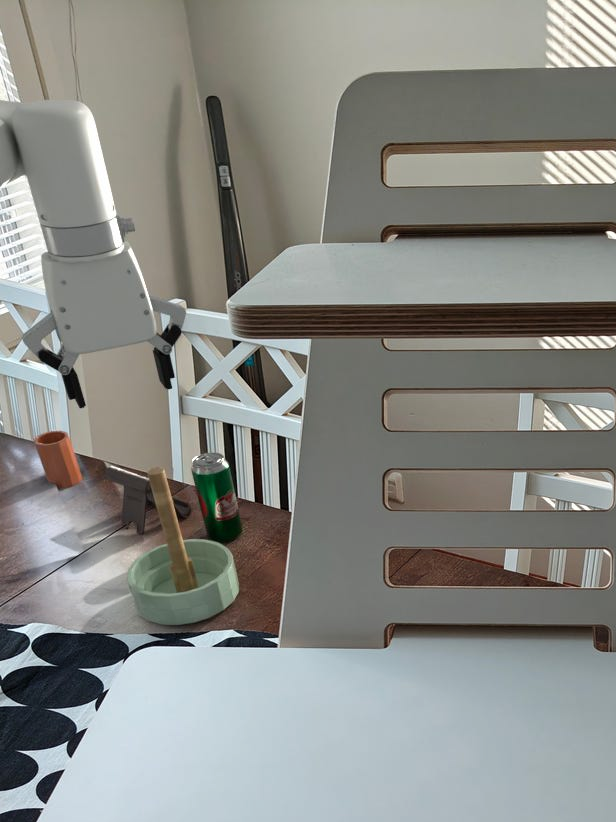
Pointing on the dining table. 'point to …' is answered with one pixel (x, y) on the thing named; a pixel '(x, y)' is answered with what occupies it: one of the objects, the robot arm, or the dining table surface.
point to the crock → (58, 459)
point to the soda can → (216, 497)
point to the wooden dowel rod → (172, 532)
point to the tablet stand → (139, 497)
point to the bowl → (172, 608)
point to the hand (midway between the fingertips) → (124, 394)
